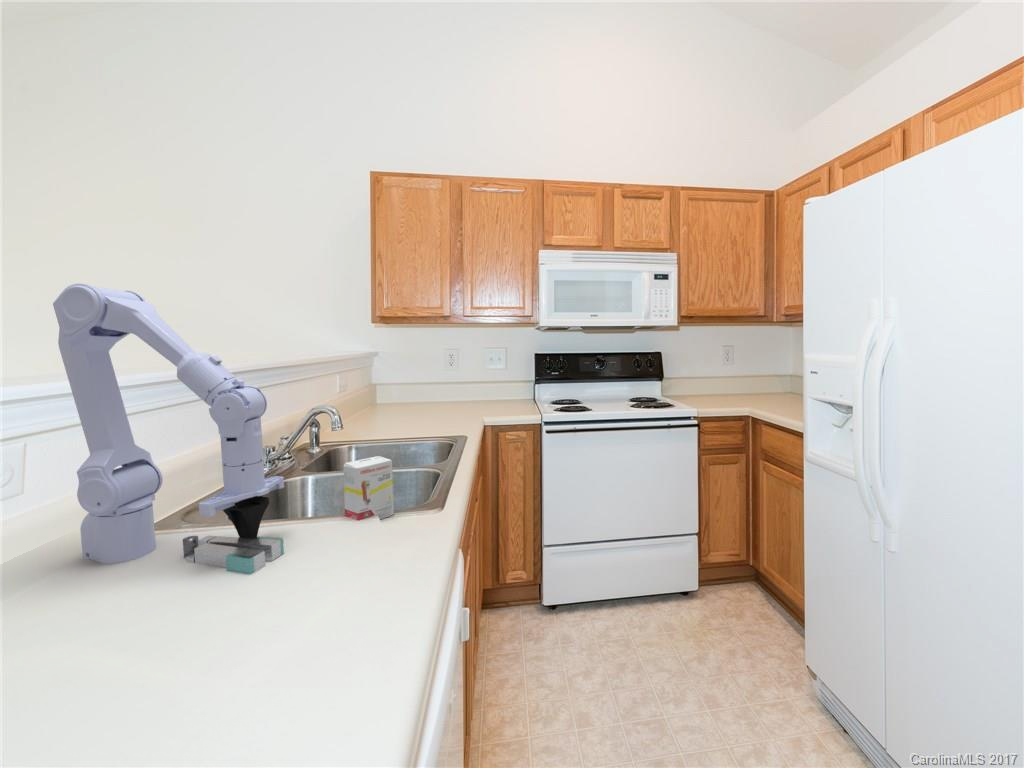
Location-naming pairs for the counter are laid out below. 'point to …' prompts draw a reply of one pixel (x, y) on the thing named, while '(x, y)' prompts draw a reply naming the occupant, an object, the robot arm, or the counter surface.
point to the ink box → (368, 488)
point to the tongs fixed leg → (223, 556)
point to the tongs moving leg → (249, 544)
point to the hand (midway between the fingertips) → (248, 543)
